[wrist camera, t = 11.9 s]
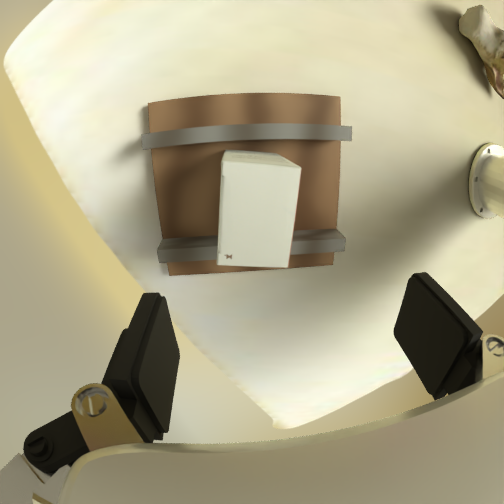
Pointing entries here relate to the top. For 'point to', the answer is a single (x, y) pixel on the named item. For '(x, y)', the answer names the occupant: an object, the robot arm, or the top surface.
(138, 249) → the top surface
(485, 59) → the ceramic sculpture
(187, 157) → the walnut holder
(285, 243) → the small box
